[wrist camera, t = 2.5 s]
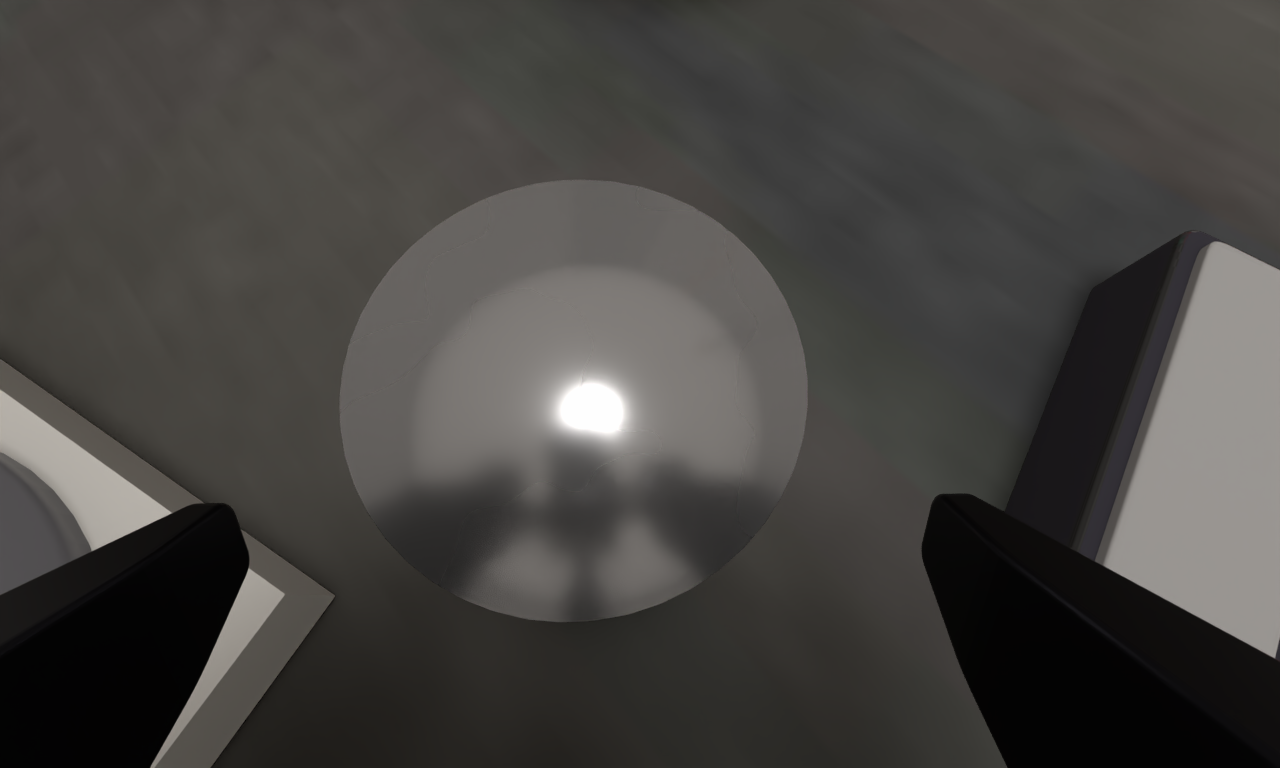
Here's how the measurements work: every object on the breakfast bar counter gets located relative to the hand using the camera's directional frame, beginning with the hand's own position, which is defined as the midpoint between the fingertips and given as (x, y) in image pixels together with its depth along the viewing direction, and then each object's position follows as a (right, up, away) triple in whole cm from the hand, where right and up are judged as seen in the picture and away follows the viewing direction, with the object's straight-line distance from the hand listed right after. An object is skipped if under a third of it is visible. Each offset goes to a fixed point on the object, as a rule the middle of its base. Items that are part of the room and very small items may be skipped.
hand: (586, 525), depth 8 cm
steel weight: (0, -2, +9) cm, 9 cm away
